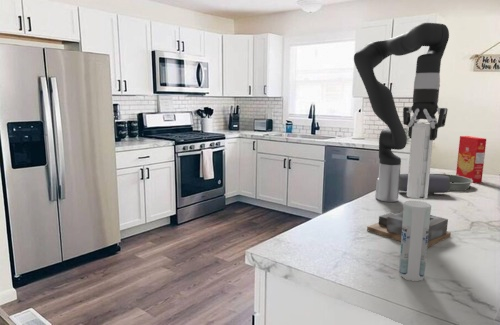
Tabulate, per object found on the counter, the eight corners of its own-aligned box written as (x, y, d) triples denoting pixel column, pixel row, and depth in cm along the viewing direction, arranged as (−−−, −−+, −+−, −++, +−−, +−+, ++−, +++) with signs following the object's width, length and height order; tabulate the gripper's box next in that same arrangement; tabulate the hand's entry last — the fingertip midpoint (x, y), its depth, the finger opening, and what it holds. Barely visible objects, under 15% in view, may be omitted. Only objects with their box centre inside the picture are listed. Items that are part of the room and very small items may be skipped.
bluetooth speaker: (443, 192, 188) (445, 173, 186) (449, 197, 179) (451, 177, 177) (396, 190, 192) (397, 171, 190) (400, 194, 183) (401, 175, 181)
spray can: (397, 268, 103) (402, 199, 100) (422, 271, 101) (428, 201, 98) (399, 279, 97) (405, 206, 94) (426, 283, 95) (433, 208, 92)
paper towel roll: (427, 195, 127) (434, 122, 123) (427, 200, 121) (434, 123, 117) (407, 193, 130) (412, 122, 126) (406, 197, 124) (412, 123, 120)
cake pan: (471, 193, 186) (472, 185, 185) (418, 187, 199) (419, 179, 198) (472, 184, 207) (473, 176, 206) (424, 179, 219) (425, 171, 219)
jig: (366, 230, 133) (368, 213, 132) (394, 220, 144) (395, 204, 143) (423, 249, 117) (425, 229, 116) (450, 236, 128) (452, 218, 126)
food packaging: (455, 177, 224) (460, 136, 220) (463, 177, 224) (468, 136, 220) (472, 182, 209) (477, 138, 205) (481, 182, 210) (486, 138, 206)
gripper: (399, 88, 123) (395, 137, 126) (443, 87, 112) (438, 142, 115) (411, 88, 127) (407, 136, 130) (454, 87, 116) (449, 140, 119)
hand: (422, 139), depth 122 cm, fingers closed on paper towel roll, 6 cm apart
